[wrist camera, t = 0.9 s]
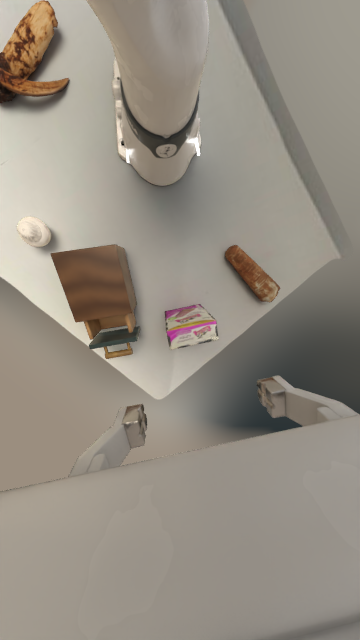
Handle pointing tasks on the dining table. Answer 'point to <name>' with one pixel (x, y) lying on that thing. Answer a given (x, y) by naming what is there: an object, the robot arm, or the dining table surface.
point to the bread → (252, 274)
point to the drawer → (113, 333)
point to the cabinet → (96, 282)
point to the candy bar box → (190, 326)
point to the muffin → (34, 231)
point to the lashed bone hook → (28, 55)
